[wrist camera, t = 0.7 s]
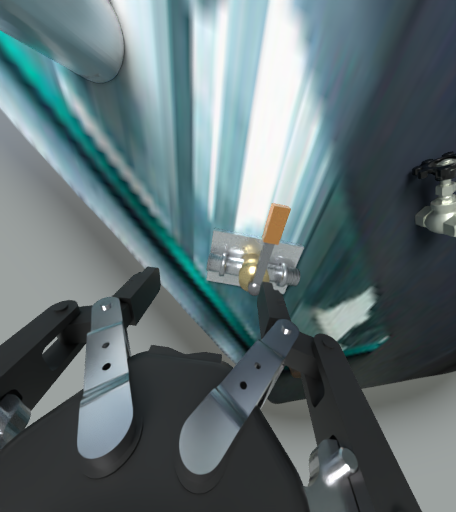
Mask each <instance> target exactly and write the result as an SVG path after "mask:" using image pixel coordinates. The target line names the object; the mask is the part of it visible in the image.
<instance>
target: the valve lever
mask: <svg viewBox="0 0 456 512" xmlns="http://www.w3.org/2000/svg"><path fill="white" fill-rule="evenodd" d="M290 210H291V209H290V208H289V207H288V206H285V205H280V204H275V203H272V204H271V208H270V211H269V215H268V218H267V221H266V225H265V228H264V232H263V235H262V240H263V242H264V243H263V246H262V250H261V253H260V256H259V259H258V263H257V266H256V269H255V273H254V276H253V279H252V280H251V281H249V282H248V292H249V293H250V294H251V295H254V296H256V295H258V294H259V290H260V286H261V282H262V280H263V277H264V274H265V271H266V269H267V266H268V263H269V260H270V257H271V254H272V251H273V248H274V245H275V244H276V245H278V244H279V242H280V239H281V236H282V233H283V230H284V227H285V224H286V222H287V219H288V216H289V213H290Z"/></svg>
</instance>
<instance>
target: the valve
mask: <svg viewBox="0 0 456 512" xmlns="http://www.w3.org/2000/svg"><path fill="white" fill-rule="evenodd" d="M436 164H437V165H436ZM428 173H431V174H433V175H435V180H436V181H440V184H439V185H437V186H436V195H439V196H438V197H437V198H436V199H435V200H433V201H431V203H430V206H425V207H424V208H423V209H422V210H421V211H419V212H418V213H417V214H416V215H415V224H416V225H419V226H422V227H427V228H428V229H429V230H430V231H432V232H435V233H440V234H446V235H449V236H452V237H456V196H455V195H454V194H452V193H453V192H454V191H455V190H456V182H451V179H452V178H454V177H456V154H454V152H448V153H445V154H443V155H442V157H441V158H438V159H435V160H433V159H428V160H425V161H423V162H422V166H417V167H414V168H413V169H412V175H418V179H423V178H426V177H427V174H428Z"/></svg>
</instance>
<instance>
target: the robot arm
mask: <svg viewBox="0 0 456 512" xmlns="http://www.w3.org/2000/svg"><path fill="white" fill-rule="evenodd" d="M0 30H1V31H3V32H4V33H6V34H8V35H10V36H11V37H13V38H15V39H17V40H18V41H20V42H22V43H24V44H25V45H27V46H29V47H31V48H32V49H34V50H36V51H38V52H40V53H41V54H43V55H45V56H47V57H48V58H50V59H52V60H54V61H55V62H57V63H59V64H61V65H63V66H64V67H66V68H68V69H69V70H71V71H73V72H74V73H76V74H78V75H80V76H82V77H84V78H86V79H87V80H90V81H92V82H96V83H104V82H108V81H110V80H111V79H113V78H114V77H115V76H116V75H117V73H118V72H119V70H120V68H121V65H122V61H123V54H124V43H123V35H122V31H121V26H120V23H119V21H118V18H117V15H116V13H115V11H114V9H113V7H112V6H111V4H110V1H109V0H0ZM160 285H161V284H160V273H159V268H155V267H147V268H146V269H145V270H144V271H143V272H139V273H138V274H135V275H133V276H132V277H131V278H130V279H129V281H127V282H126V283H125V284H124V285H123V286H122V287H121V288H120V289H119V290H118V291H117V292H116V293H115V294H114V295H113V296H112V297H107V298H103V299H101V300H99V301H97V302H96V303H95V304H94V305H93V306H83V307H78V304H77V302H75V301H72V300H67V301H62V302H59V303H57V304H54V305H52V306H51V307H49V308H48V309H47V310H45V311H44V312H43V313H42V314H40V315H39V316H38V317H36V318H35V319H34V320H32V321H31V322H30V323H29V324H28V325H26V326H25V327H23V328H22V329H21V330H20V331H18V332H17V333H16V334H14V335H13V336H12V337H11V338H9V339H8V340H7V341H5V342H4V343H3V344H2V345H0V512H422V511H421V509H420V507H419V505H418V503H417V501H416V499H415V497H414V495H413V493H412V491H411V489H410V487H409V485H408V483H407V481H406V479H405V477H404V475H403V473H402V471H401V469H400V466H399V465H398V462H397V460H396V458H395V456H394V455H393V452H392V450H391V448H390V446H389V444H388V442H387V440H386V438H385V436H384V434H383V432H382V430H381V428H380V426H379V424H378V422H377V420H376V418H375V416H374V414H373V412H372V410H371V408H370V406H369V404H368V402H367V400H366V398H365V396H364V394H363V392H362V390H361V387H360V385H359V383H358V381H357V379H356V377H355V375H354V373H353V371H352V369H351V367H350V365H349V363H348V361H347V359H346V357H345V355H344V353H343V351H342V349H341V347H340V345H339V344H338V343H337V342H336V341H335V340H334V339H333V338H332V337H330V336H328V335H325V334H317V335H316V336H315V337H314V338H313V337H311V336H308V335H306V334H303V333H301V332H300V331H299V329H298V328H297V326H296V325H295V324H294V323H293V322H291V320H290V317H289V314H288V311H287V307H286V306H285V305H286V304H285V301H284V298H283V295H282V294H281V293H280V292H279V290H274V288H273V284H272V283H270V282H263V281H262V282H261V286H260V290H259V294H258V299H257V307H258V315H259V324H260V333H261V340H257V341H256V342H255V343H254V345H253V346H252V347H251V348H250V349H249V350H248V352H247V353H246V354H245V355H244V356H243V357H242V359H241V360H240V361H239V362H238V363H237V365H236V366H235V367H234V368H233V367H232V366H230V365H229V364H228V363H226V362H224V361H222V360H221V359H222V355H221V354H215V353H207V352H201V353H193V354H183V353H181V352H178V351H176V350H174V349H171V348H169V347H163V346H155V345H151V347H150V349H149V351H145V352H141V353H138V354H136V355H133V356H131V352H130V346H129V340H128V333H127V327H128V326H129V325H135V326H136V325H137V323H138V322H139V320H140V319H141V317H142V316H143V314H144V313H145V311H146V310H147V308H148V307H149V306H150V304H151V303H152V301H153V300H154V298H155V297H156V295H157V294H158V292H159V290H160ZM56 336H57V338H58V339H57V340H56V341H55V342H54V343H53V345H51V346H50V347H49V349H47V350H46V352H44V353H43V350H44V349H45V347H46V346H47V345H48V344H49V343H50V342H51V341H52V340H53V339H54V338H55V337H56ZM85 344H86V358H85V375H84V389H82V390H81V391H79V392H78V393H76V394H75V395H74V396H72V397H71V398H69V399H68V400H66V401H65V402H63V403H62V404H60V405H59V406H57V407H56V408H55V409H53V410H52V411H50V412H49V413H47V414H46V415H44V416H43V417H41V418H40V419H38V420H37V421H36V422H34V423H33V424H31V425H30V426H28V427H27V428H25V427H26V425H27V424H28V422H29V419H30V416H31V410H32V409H33V408H34V407H35V405H36V404H37V403H38V402H39V400H40V399H41V398H42V397H43V395H44V394H45V393H46V392H47V391H48V389H49V388H50V387H51V385H52V384H53V383H54V382H55V381H56V380H57V378H58V377H59V376H60V375H61V373H62V372H63V371H64V370H65V369H66V367H67V366H68V365H69V364H70V362H71V361H72V360H73V359H74V357H75V356H76V355H77V354H78V353H79V351H80V350H81V349H82V348H83V346H84V345H85ZM42 353H43V354H42ZM285 365H286V366H288V367H290V368H292V369H295V370H297V371H299V372H300V374H301V378H302V382H303V386H304V391H305V395H306V399H307V404H308V408H309V412H310V417H311V421H312V425H313V429H314V433H315V438H316V442H317V447H316V448H315V449H314V450H313V451H312V453H311V454H310V458H309V471H310V479H309V484H308V486H307V487H305V486H303V484H302V481H301V479H300V476H299V474H298V472H297V470H296V468H295V467H294V465H293V463H292V461H291V460H290V458H289V456H288V455H287V453H286V452H285V450H284V448H283V447H282V445H281V443H280V442H279V440H278V438H277V437H276V435H275V433H274V432H273V430H272V428H271V427H270V425H269V423H268V422H267V420H266V419H265V417H264V415H263V413H262V412H261V408H262V406H263V404H264V403H265V401H266V399H267V397H268V395H269V393H270V391H271V389H272V387H273V386H274V384H275V382H276V380H277V379H278V377H279V375H280V373H281V372H282V370H283V368H284V366H285Z"/></svg>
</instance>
